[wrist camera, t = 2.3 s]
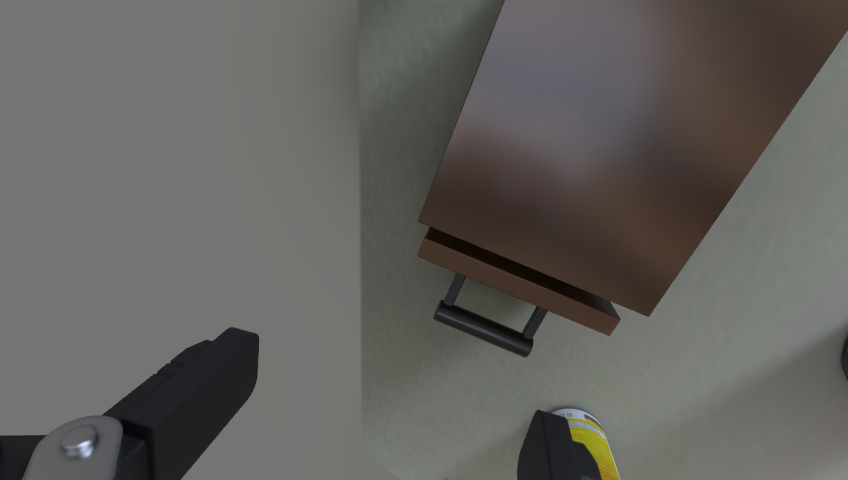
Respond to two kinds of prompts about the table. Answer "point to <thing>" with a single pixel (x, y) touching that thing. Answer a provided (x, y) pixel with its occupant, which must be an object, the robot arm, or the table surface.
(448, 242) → the drawer
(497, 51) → the cabinet
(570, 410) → the supplement bottle
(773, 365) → the table surface
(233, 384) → the robot arm
